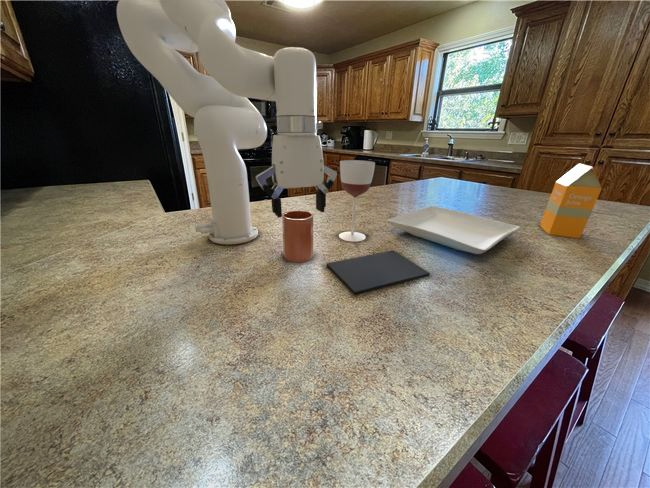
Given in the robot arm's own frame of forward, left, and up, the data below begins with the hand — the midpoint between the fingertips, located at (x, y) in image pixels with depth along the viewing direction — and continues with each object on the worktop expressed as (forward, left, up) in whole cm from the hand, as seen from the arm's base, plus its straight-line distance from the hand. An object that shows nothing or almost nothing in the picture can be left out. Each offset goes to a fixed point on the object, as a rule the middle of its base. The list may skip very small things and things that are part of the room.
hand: (299, 213), depth 58 cm
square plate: (+46, -3, -11) cm, 47 cm away
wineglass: (+18, +6, -11) cm, 22 cm away
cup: (0, 0, -11) cm, 10 cm away
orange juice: (+80, -14, -11) cm, 81 cm away
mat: (+13, -13, -11) cm, 21 cm away
